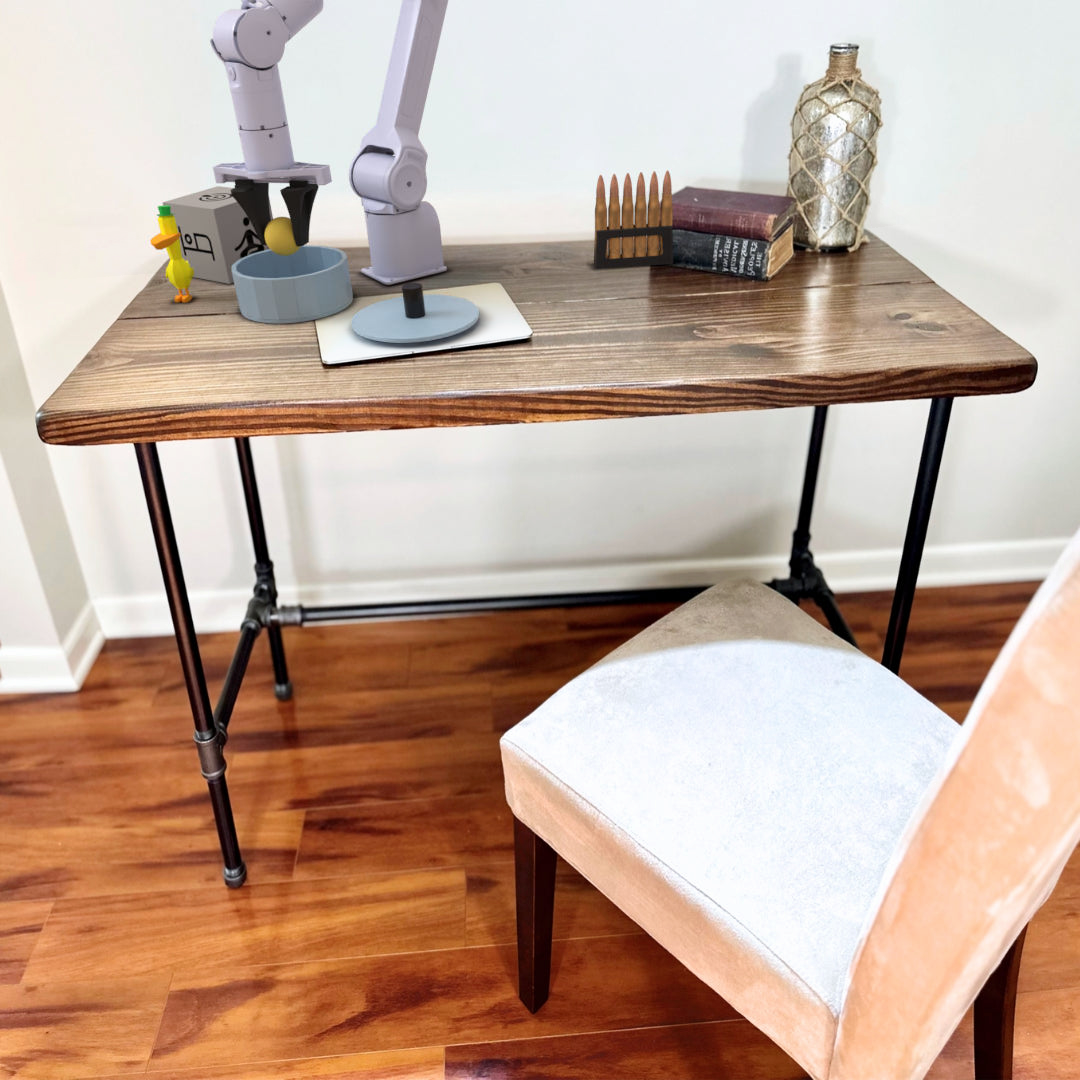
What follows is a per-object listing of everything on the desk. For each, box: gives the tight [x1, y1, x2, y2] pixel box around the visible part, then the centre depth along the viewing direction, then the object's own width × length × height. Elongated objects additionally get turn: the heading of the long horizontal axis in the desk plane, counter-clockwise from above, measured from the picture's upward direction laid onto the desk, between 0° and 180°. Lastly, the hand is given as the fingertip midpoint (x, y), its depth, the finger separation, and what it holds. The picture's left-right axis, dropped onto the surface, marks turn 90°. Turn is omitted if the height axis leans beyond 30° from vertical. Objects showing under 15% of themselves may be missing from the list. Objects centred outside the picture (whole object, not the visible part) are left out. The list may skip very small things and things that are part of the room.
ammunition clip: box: [593, 169, 674, 270], centre depth 129 cm, size 11×2×12 cm, turn 95°
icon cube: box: [162, 185, 274, 285], centre depth 136 cm, size 10×10×10 cm
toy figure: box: [150, 205, 194, 304], centre depth 125 cm, size 7×4×12 cm, turn 170°
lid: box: [351, 282, 480, 344], centre depth 115 cm, size 15×15×5 cm
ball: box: [264, 216, 300, 256], centre depth 120 cm, size 5×5×5 cm
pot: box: [232, 244, 354, 324], centre depth 123 cm, size 14×14×6 cm
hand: (284, 243), depth 120 cm, fingers closed on ball, 4 cm apart
